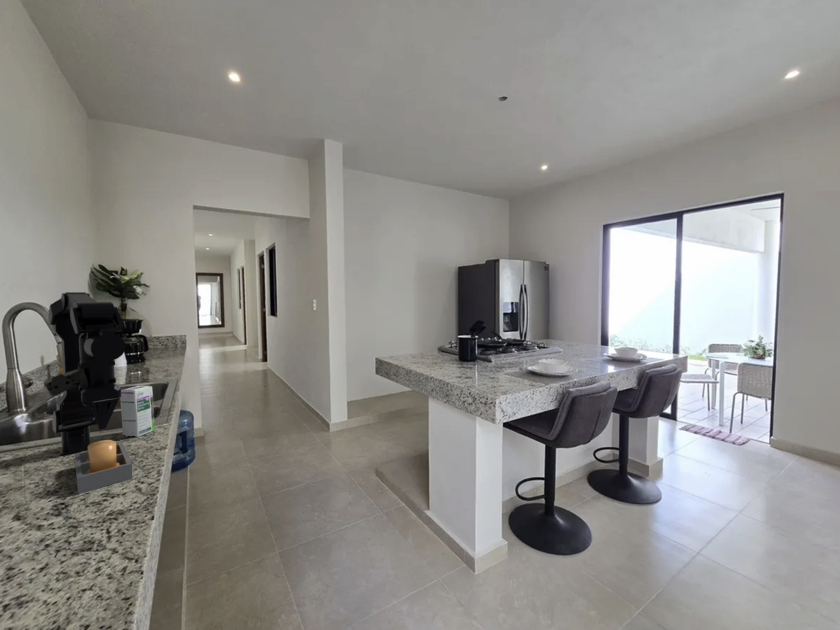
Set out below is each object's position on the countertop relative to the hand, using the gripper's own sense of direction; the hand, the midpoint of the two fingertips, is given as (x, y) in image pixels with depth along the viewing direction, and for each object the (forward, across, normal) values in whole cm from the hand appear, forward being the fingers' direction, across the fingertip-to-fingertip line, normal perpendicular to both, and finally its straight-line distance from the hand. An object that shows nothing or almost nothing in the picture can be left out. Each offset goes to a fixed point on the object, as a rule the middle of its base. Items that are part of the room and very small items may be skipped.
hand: (100, 424), depth 82 cm
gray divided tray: (+13, -4, 0) cm, 14 cm away
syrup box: (+13, -30, +10) cm, 34 cm away
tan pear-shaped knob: (+12, 0, 0) cm, 12 cm away
